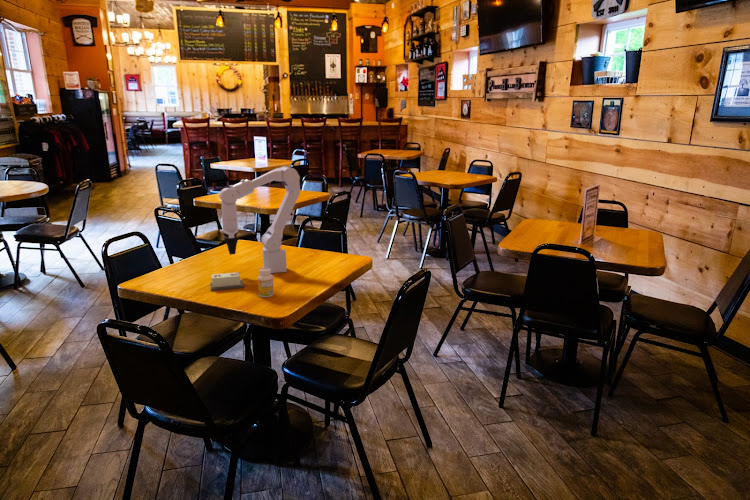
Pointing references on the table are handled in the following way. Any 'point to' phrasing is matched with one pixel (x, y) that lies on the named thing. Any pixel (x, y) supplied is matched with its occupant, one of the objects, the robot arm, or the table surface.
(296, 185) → the robot arm
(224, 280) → the hollow breeze brick
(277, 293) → the table surface
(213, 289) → the base
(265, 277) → the supplement bottle
